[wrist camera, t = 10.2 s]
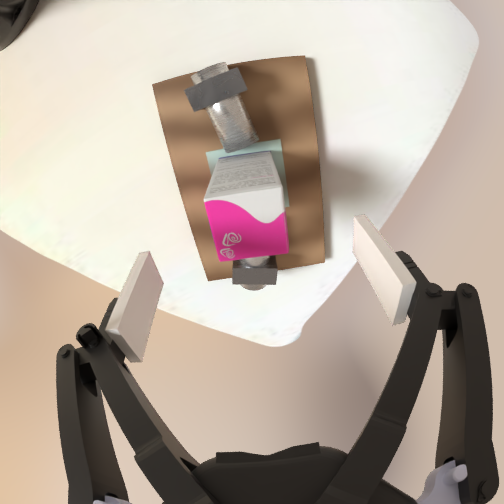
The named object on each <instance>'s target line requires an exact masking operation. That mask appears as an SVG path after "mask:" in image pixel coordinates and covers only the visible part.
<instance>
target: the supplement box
mask: <svg viewBox="0 0 504 504" xmlns="http://www.w3.org/2000/svg"><path fill="white" fill-rule="evenodd" d="M204 204H205V208H206V212H207V216H208V220H209V224H210V228H211V232H212V236H213V239H214V243H215V247H216V251H217V255H218V259H219V261H220V262H224V261H232V260H239V259H246V258H253V257H262V256H270V255H279V254H287V253H289V240H288V229H287V219H286V210H285V201H284V193H283V186H282V184H281V181H280V178H279V175H278V172H277V169H276V166H275V163H274V161H273V158H272V155H271V151H270V150H269V151H261V152H254V153H247V154H240V155H233V156H227V157H221V158H219V159H218V161H217V164H216V166H215V169H214V172H213V174H212V177H211V180H210V183H209V185H208V188H207V191H206V194H205V197H204Z"/></svg>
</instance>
